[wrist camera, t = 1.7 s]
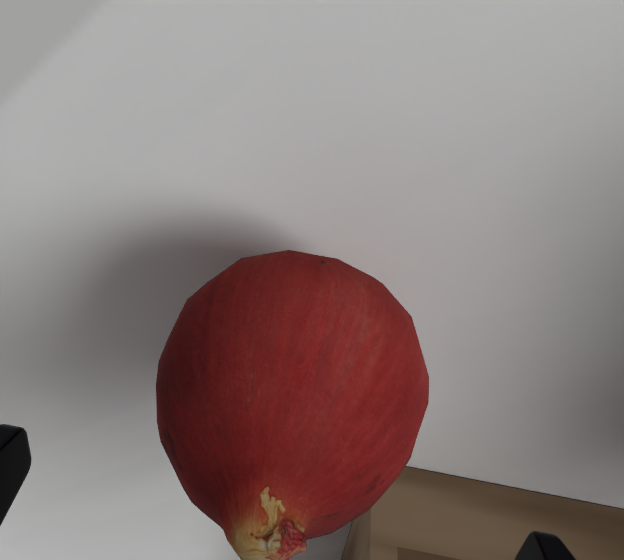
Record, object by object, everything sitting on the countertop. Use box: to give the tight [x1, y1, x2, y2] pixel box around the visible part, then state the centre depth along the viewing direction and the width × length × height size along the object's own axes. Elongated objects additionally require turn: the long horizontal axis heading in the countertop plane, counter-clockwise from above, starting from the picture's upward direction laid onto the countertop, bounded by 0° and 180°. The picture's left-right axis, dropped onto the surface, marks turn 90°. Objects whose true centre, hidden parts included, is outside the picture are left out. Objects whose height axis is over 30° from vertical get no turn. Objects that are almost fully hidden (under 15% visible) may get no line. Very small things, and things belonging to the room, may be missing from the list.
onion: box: [156, 250, 429, 560], centre depth 11 cm, size 6×6×8 cm
